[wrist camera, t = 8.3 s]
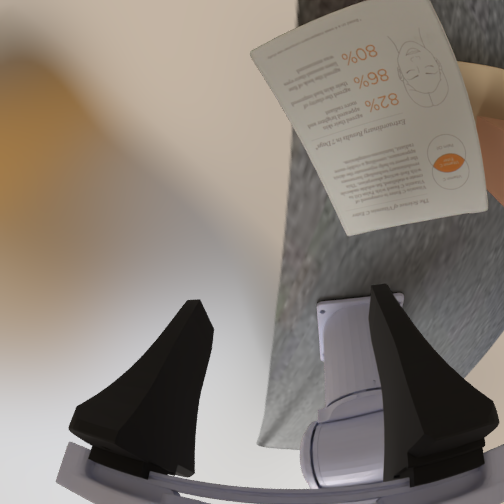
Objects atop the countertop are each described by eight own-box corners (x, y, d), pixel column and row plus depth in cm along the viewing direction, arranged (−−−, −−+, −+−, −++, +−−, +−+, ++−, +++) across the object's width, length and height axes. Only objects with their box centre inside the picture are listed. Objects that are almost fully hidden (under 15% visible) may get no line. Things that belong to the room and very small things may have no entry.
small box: (280, 40, 14) (354, 185, 19) (243, 52, 10) (344, 240, 15) (407, -5, 9) (466, 161, 14) (425, -16, 6) (490, 214, 11)
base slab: (511, 159, 15) (525, 170, 13) (440, 159, 17) (453, 170, 15) (514, 71, 11) (530, 76, 9) (437, 58, 12) (452, 60, 11)
